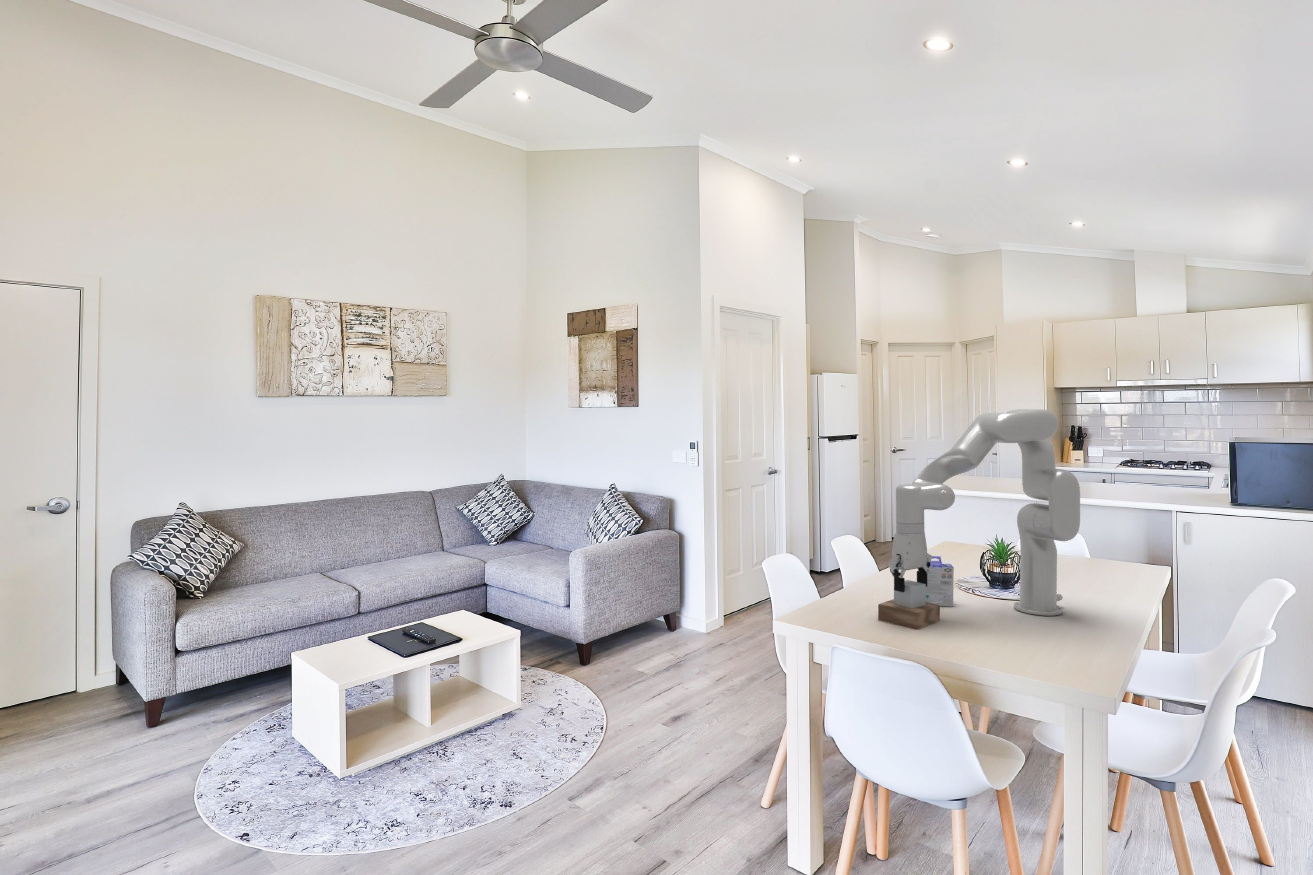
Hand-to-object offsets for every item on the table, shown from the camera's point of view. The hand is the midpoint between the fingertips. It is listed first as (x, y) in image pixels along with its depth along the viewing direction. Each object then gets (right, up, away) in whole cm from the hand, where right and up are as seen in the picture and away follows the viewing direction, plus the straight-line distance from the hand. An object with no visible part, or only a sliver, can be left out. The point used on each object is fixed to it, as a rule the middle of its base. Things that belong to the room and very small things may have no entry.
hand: (910, 588), depth 198 cm
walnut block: (0, -10, 0) cm, 10 cm away
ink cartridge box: (+14, -9, +17) cm, 24 cm away
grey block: (0, -5, 0) cm, 5 cm away
